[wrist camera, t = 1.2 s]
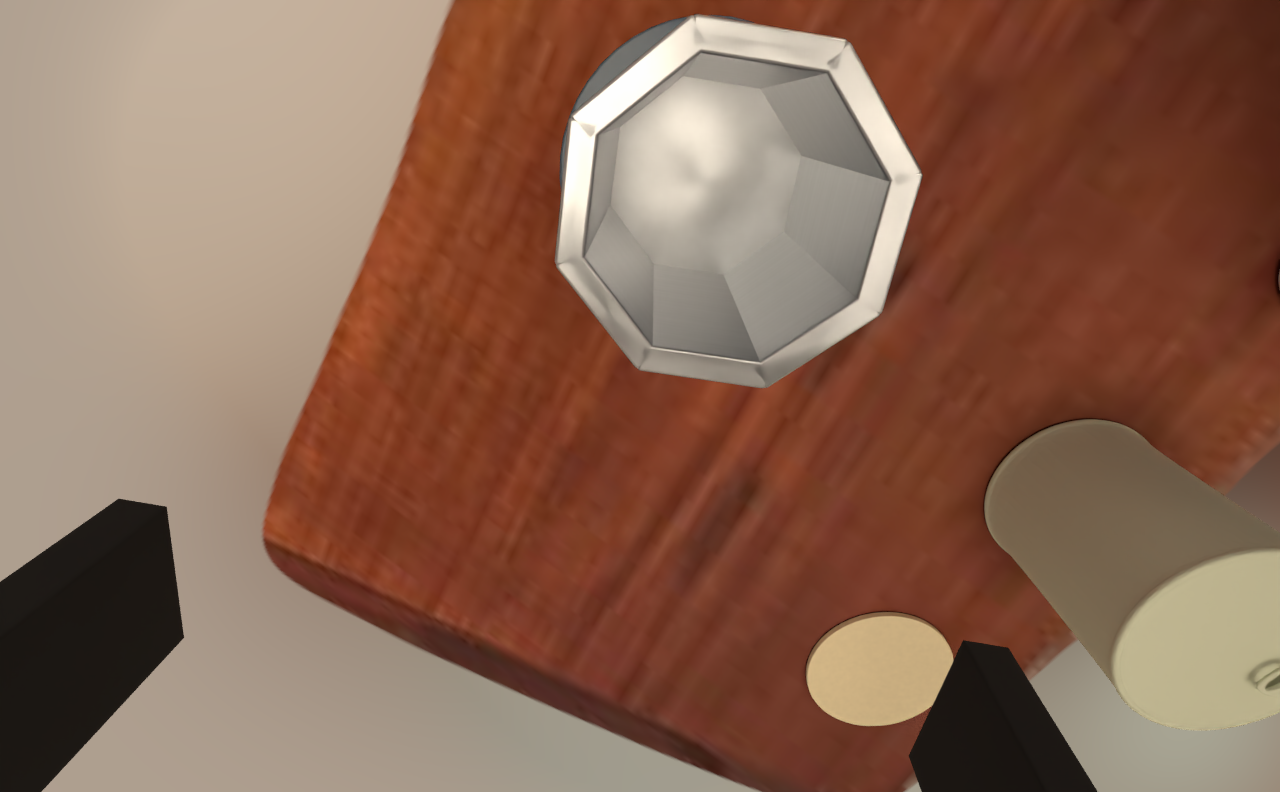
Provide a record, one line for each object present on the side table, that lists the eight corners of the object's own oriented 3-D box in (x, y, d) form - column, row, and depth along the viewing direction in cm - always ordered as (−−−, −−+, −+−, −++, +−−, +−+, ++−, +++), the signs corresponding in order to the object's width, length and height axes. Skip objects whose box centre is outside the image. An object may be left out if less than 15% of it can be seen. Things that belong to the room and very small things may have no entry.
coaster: (825, 602, 40) (827, 607, 40) (971, 622, 41) (974, 626, 40) (790, 711, 44) (792, 717, 43) (925, 729, 44) (927, 734, 44)
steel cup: (611, 42, 20) (580, -7, 12) (834, 79, 20) (959, 56, 12) (585, 267, 23) (544, 357, 14) (783, 297, 23) (855, 402, 15)
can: (1064, 588, 39) (1223, 773, 28) (947, 512, 38) (1069, 679, 27) (1194, 474, 36) (1429, 633, 25) (1074, 386, 35) (1271, 515, 23)
